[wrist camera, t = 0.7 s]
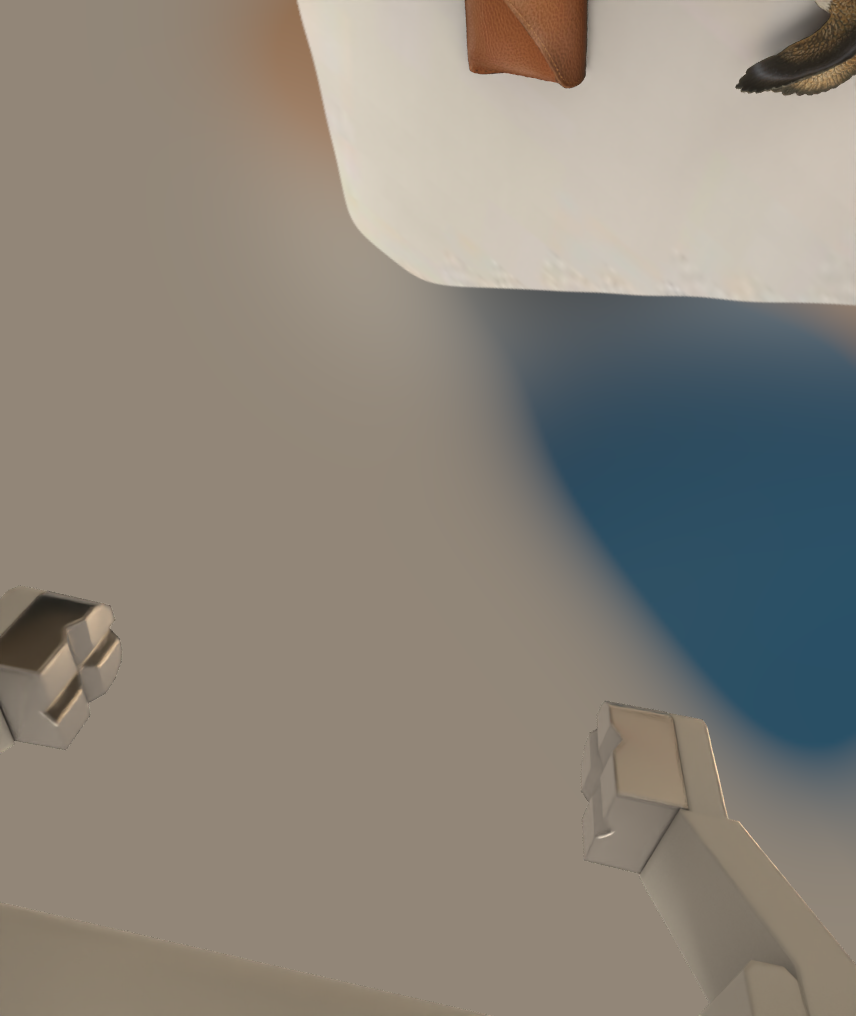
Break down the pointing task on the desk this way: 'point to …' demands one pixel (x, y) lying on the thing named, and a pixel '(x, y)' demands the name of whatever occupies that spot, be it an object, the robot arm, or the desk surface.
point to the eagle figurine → (811, 57)
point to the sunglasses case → (528, 38)
